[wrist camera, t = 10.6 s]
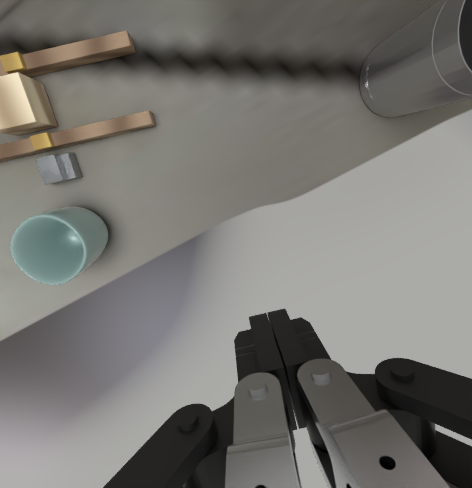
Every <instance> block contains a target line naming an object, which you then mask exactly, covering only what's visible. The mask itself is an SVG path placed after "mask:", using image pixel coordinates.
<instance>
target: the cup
mask: <svg viewBox="0 0 472 488" xmlns="http://www.w3.org/2000/svg"><path fill="white" fill-rule="evenodd" d="M107 242H108V230H107V227H106V225H105V223H104V222H103V220H102V219H101V218H100V217H99V216H98V215H97V214H95V213H94V212H92V211H90V210H88V209H86V208H82V207H75V206H70V207H62V208H57V209H53V210H49V211H45V212H42V213H39V214H37V215H34V216H31V217H30V218H28V219H26V220H25V221H23V222H22V223H21V224H20V225H19V226H18V228H17V229H16V230H15V232H14V234H13V236H12V239H11V254H12V257H13V259H14V261H15V263H16V264H17V266H18V267H19V268H20V269H21V270H22V271H23V272H24V273H25V274H26V275H27V276H29V277H31V278H32V279H34V280H36V281H38V282H40V283H44V284H47V285H59V284H63V283H66V282H69V281H70V280H72V279H74V278H75V277H77V276H78V275H79V274H81V273H82V272H83V271H84V270H86V269H87V268H88V267H89V266H90V265H91V264H92V263H94V262H95V261H96V260H97V259H98V257H99V256H100V255H101V254H102V252H103V251H104V249H105V247H106V245H107Z"/></svg>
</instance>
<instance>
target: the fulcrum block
mask: <svg viewBox="0 0 472 488" xmlns="http://www.w3.org/2000/svg"><path fill="white" fill-rule="evenodd" d="M36 163H37V165H38V168H39V171H40V173H41V176H42V179H43V181H44V184H45V185H47V184H54V183H58V182H62V181H67V180H71V179H75V178H80V177H83V176H82V173H81V170H80V167H79V164H78V162H77V159H76V156H75V153H65V154H61V155H49V156H45V157H41V158H37V160H36Z"/></svg>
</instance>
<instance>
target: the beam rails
mask: <svg viewBox="0 0 472 488" xmlns="http://www.w3.org/2000/svg"><path fill="white" fill-rule="evenodd" d="M133 53H136V50H135V47H134V43H133V39H132V38H131V36H130V35H129V33H128V32H127V31H123V32H118V33H114V34H110V35H105V36H101V37H97V38H93V39H88V40H84V41H80V42H75V43H71V44H67V45H62V46H58V47H54V48H49V49H45V50H41V51H36V52H32V53H28V54H23V55H22V54H20V53H18V52H15V53H11V54H6V55H2V56H0V59H1V60H0V76H3V75H8V74H12V73H16V72H19V73H21V74H23V75H25V76H27V77H34V76H38V75H43V74H47V73H51V72H56V71H60V70H64V69H69V68H73V67H77V66H81V65H86V64H90V63H94V62H99V61H103V60H107V59H112V58H116V57H120V56H125V55H129V54H133ZM154 126H156V124H155V120H154V116H153V113H151V112H150V111H144V112H140V113H136V114H131V115H127V116H123V117H118V118H114V119H110V120H106V121H101V122H97V123H93V124H88V125H84V126H80V127H75V128H71V129H67V130H62V131H58V132H54V133H47V132H46V133H41V134H37V135H33V136H30V138H28V139H24V140H19V141H15V142H11V143H6V144H2V145H0V162H3V161H7V160H12V159H16V158H20V157H25V156H29V155H33V154H37V153H42V152H46V151H50V150H55V149H59V148H63V147H68V146H72V145H76V144H81V143H85V142H89V141H93V140H98V139H102V138H106V137H111V136H115V135H119V134H124V133H128V132H132V131H137V130H141V129H145V128H150V127H154Z"/></svg>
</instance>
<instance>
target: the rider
mask: <svg viewBox="0 0 472 488" xmlns="http://www.w3.org/2000/svg"><path fill="white" fill-rule="evenodd" d="M54 127H58V125H57V122H56V119H55V117H54V114H53V111H52V108H51V105H50V102H49V99H48V97H47V94H46V91H45V88H44V85H43V83H41V82H38V81H36V80H34V79H32V78H30V77H27V76H25V75H23V74H21V73H19V72H16V73H12V74H8V75H3V76H0V133H4V134H11V135H23V134H28V133H32V132H36V131H41V130H45V129H49V128H54Z"/></svg>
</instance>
